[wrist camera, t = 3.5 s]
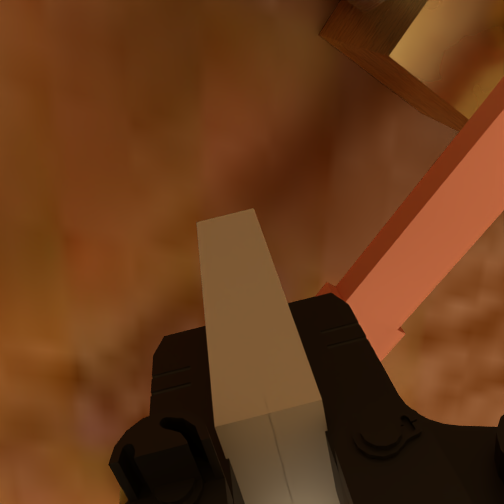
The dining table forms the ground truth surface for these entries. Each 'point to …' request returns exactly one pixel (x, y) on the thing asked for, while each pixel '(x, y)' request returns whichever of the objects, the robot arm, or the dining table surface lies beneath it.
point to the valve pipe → (425, 50)
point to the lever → (429, 229)
